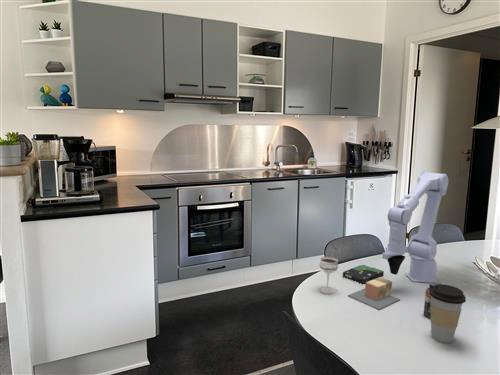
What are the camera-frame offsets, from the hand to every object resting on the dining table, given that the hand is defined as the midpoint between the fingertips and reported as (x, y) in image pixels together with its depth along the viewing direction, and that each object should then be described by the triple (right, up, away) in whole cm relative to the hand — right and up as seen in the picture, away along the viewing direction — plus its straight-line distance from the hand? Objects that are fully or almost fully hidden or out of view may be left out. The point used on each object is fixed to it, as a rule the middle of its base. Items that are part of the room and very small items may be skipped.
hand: (393, 273), depth 143 cm
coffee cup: (+2, -12, -32) cm, 34 cm away
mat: (-10, -7, -7) cm, 14 cm away
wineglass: (-26, -6, -1) cm, 26 cm away
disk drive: (-8, -5, +13) cm, 16 cm away
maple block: (-4, -4, -3) cm, 6 cm away
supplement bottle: (+6, -10, -19) cm, 22 cm away
